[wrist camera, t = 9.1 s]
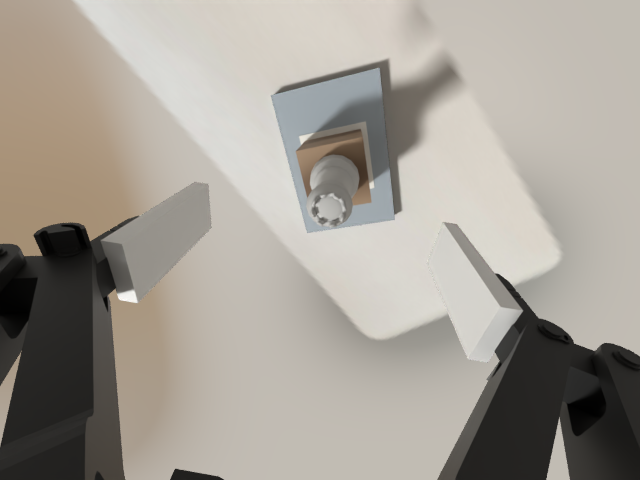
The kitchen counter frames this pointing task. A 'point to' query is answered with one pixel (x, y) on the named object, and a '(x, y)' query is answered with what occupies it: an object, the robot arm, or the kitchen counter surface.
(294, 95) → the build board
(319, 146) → the walnut cube
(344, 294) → the kitchen counter surface
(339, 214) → the rook chess piece
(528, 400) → the robot arm
